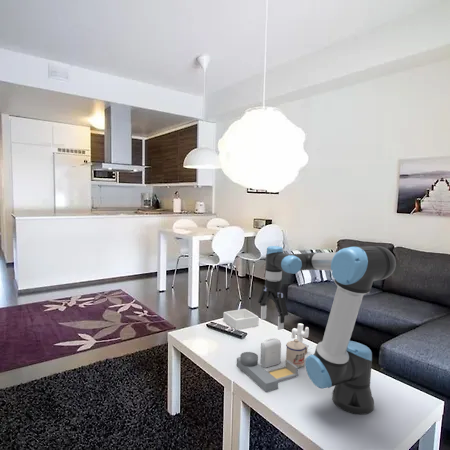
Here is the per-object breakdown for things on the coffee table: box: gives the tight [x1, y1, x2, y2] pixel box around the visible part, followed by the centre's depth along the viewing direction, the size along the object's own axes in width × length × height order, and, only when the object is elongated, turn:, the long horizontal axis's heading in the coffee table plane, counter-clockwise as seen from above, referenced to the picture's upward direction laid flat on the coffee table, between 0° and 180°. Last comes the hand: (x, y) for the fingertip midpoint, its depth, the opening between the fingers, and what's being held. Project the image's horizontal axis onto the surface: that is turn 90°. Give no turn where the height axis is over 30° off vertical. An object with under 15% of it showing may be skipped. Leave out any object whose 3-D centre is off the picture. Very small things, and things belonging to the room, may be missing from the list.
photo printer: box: [259, 337, 282, 369], centre depth 157 cm, size 10×4×12 cm, turn 119°
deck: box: [236, 351, 299, 393], centre depth 150 cm, size 24×21×7 cm
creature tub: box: [222, 308, 260, 331], centre depth 207 cm, size 16×16×6 cm
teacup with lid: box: [285, 338, 308, 368], centre depth 160 cm, size 12×9×12 cm
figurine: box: [291, 323, 310, 350], centre depth 170 cm, size 7×9×15 cm
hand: (271, 323), depth 156 cm, fingers open, 13 cm apart
